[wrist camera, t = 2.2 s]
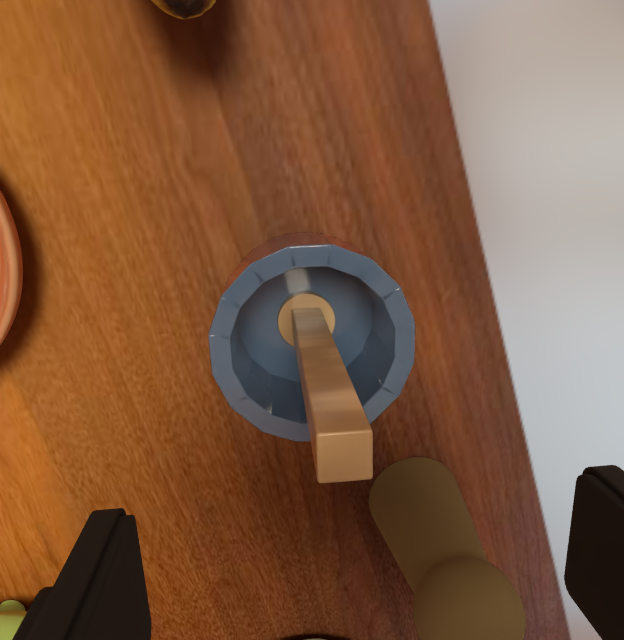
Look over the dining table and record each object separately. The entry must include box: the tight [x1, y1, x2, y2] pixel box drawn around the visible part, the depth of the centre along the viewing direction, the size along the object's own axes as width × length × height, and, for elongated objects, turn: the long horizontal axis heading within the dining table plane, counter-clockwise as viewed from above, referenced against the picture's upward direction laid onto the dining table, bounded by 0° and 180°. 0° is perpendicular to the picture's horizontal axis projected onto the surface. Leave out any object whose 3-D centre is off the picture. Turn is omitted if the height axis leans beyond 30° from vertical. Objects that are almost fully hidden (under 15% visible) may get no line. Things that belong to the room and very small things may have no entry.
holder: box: [208, 232, 415, 442], centre depth 26 cm, size 10×10×6 cm
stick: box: [277, 291, 373, 483], centre depth 21 cm, size 3×3×15 cm
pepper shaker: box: [368, 457, 526, 640], centre depth 28 cm, size 6×6×11 cm
